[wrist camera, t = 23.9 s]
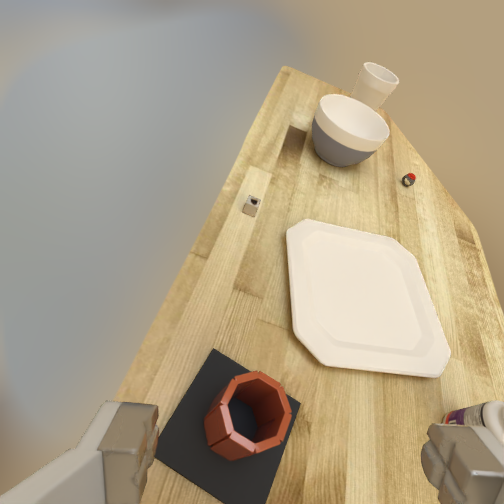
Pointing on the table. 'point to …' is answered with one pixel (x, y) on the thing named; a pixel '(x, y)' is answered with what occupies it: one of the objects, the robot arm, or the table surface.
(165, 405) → the table surface
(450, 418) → the pill bottle
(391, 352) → the plate
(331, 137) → the bowl
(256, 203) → the cube with dark pebbles
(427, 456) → the robot arm
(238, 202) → the table surface
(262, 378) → the orange hollow octagonal tube
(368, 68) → the foam cup
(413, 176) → the ring
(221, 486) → the mat
